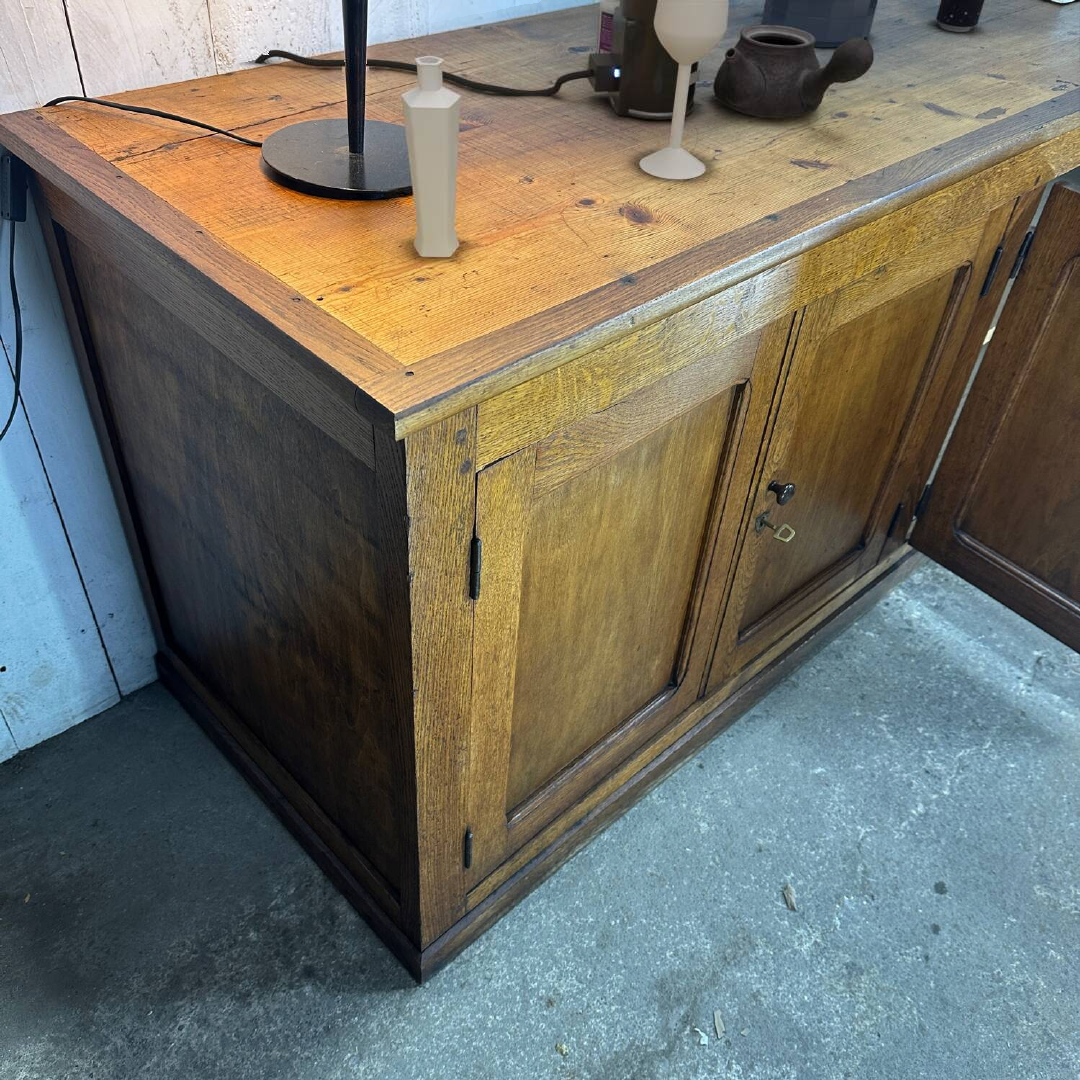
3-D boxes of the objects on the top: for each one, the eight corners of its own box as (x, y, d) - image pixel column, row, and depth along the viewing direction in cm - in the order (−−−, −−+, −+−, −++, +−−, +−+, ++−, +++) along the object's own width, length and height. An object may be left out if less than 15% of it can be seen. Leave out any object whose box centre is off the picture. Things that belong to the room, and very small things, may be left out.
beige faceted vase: (463, 235, 86) (460, 51, 76) (462, 259, 83) (459, 69, 73) (410, 235, 86) (400, 49, 76) (407, 258, 82) (396, 67, 72)
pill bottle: (645, 72, 121) (654, -16, 114) (606, 76, 119) (613, -13, 113) (626, 59, 125) (634, -27, 118) (588, 62, 123) (594, -25, 116)
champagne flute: (625, 165, 99) (652, -119, 83) (665, 148, 103) (698, -127, 87) (680, 185, 96) (719, -107, 80) (718, 166, 100) (763, -116, 83)
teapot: (672, 109, 112) (684, 12, 105) (752, 81, 120) (768, -11, 113) (813, 159, 102) (836, 56, 95) (890, 125, 110) (916, 28, 104)
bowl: (781, 49, 130) (791, -6, 126) (747, 18, 141) (755, -34, 136) (884, 48, 132) (898, -6, 128) (843, 17, 143) (854, -34, 138)
